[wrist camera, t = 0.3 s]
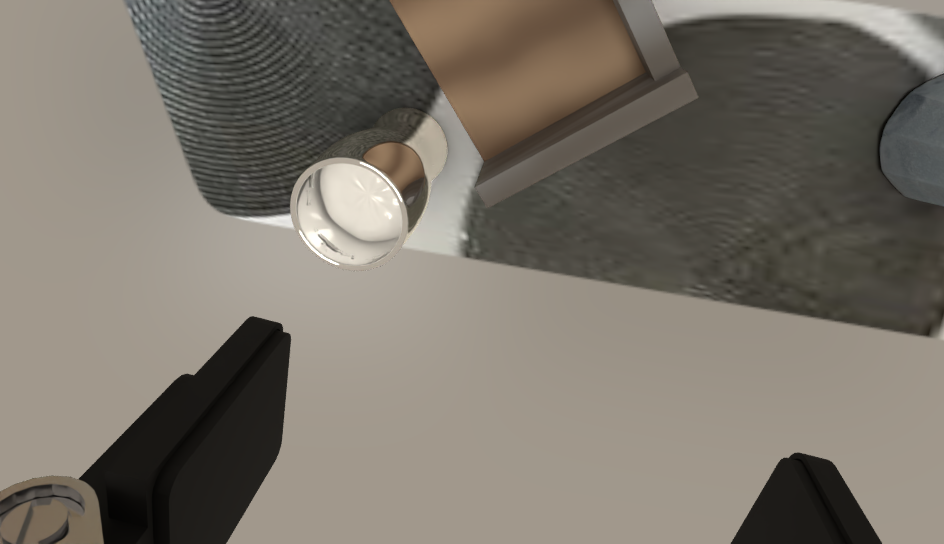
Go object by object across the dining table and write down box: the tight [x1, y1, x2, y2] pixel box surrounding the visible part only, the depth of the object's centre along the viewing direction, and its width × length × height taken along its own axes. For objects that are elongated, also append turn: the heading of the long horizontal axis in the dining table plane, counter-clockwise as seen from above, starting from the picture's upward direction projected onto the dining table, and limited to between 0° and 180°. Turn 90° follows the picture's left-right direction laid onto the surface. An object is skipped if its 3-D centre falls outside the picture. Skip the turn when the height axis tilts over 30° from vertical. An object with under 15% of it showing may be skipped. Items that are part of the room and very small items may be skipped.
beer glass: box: [290, 108, 448, 271], centre depth 39 cm, size 7×7×15 cm
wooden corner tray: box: [390, 0, 699, 208], centre depth 37 cm, size 16×14×8 cm
